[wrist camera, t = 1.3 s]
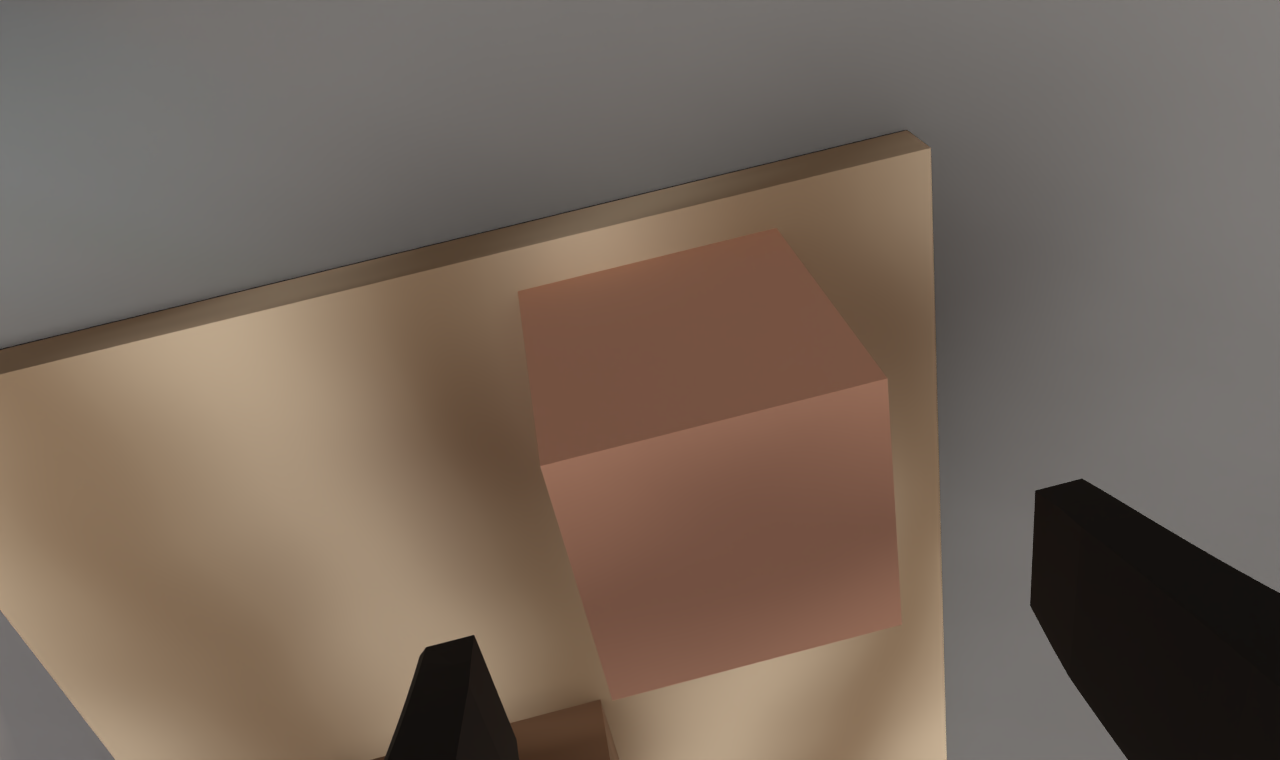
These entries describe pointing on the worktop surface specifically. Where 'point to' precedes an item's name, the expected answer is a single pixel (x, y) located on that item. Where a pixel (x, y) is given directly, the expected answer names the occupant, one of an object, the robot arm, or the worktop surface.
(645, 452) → the block
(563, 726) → the slab low
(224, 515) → the board
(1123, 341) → the worktop surface
